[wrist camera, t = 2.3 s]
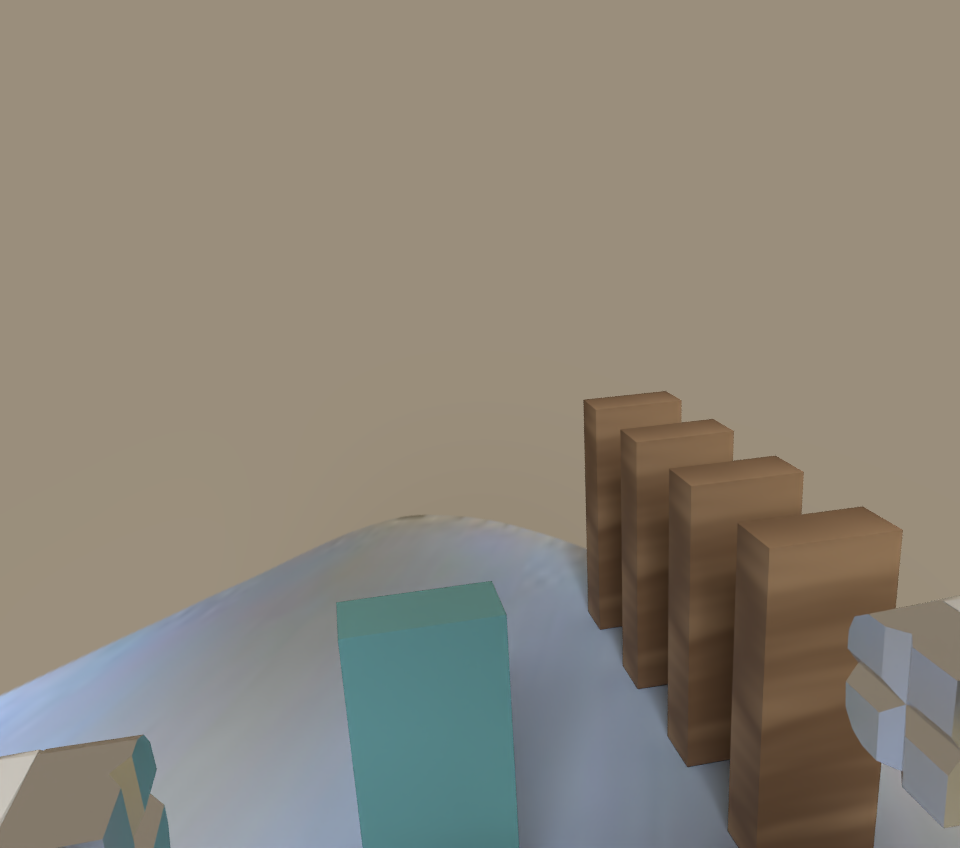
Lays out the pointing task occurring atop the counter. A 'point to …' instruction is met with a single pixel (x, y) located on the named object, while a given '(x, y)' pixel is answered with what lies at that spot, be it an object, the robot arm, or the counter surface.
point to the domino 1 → (430, 718)
